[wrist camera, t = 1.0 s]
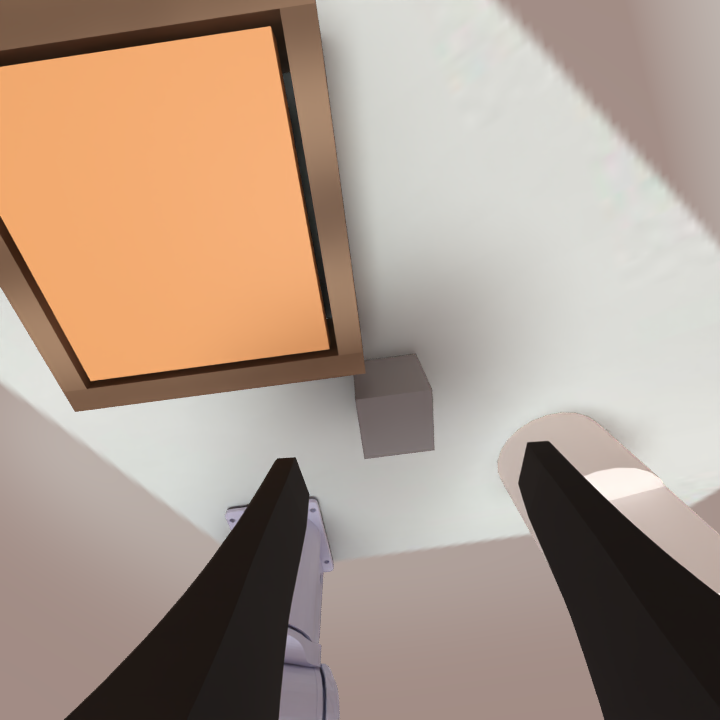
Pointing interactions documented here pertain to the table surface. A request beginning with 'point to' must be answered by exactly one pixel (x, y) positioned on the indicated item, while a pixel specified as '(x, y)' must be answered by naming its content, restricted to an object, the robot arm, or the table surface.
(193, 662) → the robot arm
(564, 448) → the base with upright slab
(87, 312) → the orange flap
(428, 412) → the gray block
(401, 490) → the table surface
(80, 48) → the wooden box
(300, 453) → the table surface
